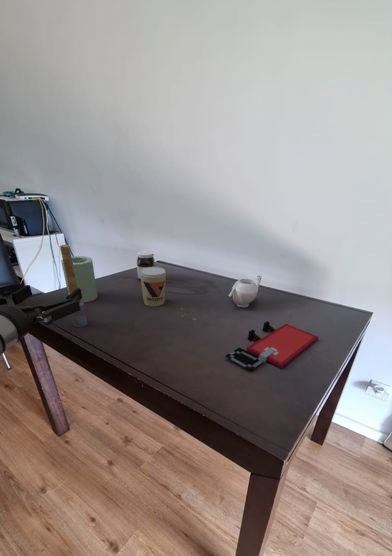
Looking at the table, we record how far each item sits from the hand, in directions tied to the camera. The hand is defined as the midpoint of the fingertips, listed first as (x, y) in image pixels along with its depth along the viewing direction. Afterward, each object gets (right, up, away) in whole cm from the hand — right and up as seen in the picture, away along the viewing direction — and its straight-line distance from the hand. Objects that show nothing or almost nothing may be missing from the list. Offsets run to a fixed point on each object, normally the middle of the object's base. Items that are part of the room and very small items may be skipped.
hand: (54, 291), depth 74 cm
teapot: (+55, +2, +34) cm, 65 cm away
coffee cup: (+21, +2, +32) cm, 39 cm away
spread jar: (+17, +16, +53) cm, 57 cm away
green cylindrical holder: (-6, +5, +33) cm, 34 cm away
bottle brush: (0, -7, +15) cm, 17 cm away
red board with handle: (+59, -15, +9) cm, 62 cm away
